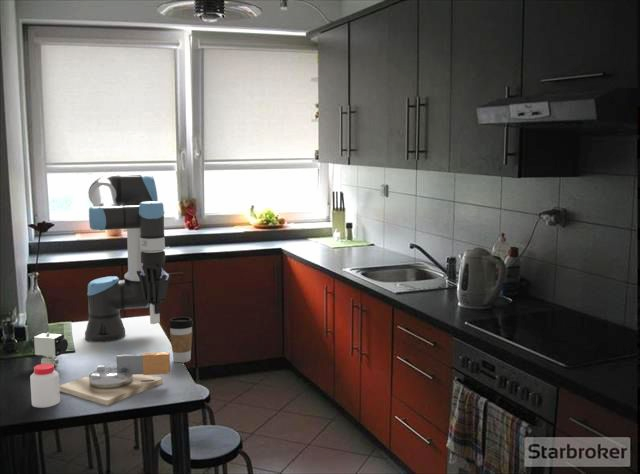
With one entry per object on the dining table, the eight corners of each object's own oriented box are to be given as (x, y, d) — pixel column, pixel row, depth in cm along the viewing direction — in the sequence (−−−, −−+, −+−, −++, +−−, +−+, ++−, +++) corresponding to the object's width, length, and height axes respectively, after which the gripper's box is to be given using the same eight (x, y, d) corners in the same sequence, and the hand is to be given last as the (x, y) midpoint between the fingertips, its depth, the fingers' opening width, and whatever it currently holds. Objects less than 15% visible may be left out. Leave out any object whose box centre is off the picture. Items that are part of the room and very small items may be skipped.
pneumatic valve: (61, 370, 222) (59, 335, 220) (30, 367, 224) (28, 333, 223) (70, 364, 227) (69, 331, 226) (40, 362, 230) (38, 329, 228)
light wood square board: (115, 370, 222) (115, 365, 222) (162, 382, 210) (162, 377, 210) (58, 390, 203) (58, 385, 203) (107, 405, 192) (106, 399, 192)
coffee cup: (164, 362, 230) (163, 320, 228) (178, 355, 238) (177, 314, 236) (185, 365, 227) (184, 322, 225) (198, 357, 235) (197, 316, 233)
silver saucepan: (84, 389, 199) (83, 362, 198) (94, 374, 212) (93, 349, 211) (167, 386, 202) (166, 360, 201) (172, 372, 215) (171, 347, 214)
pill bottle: (59, 406, 191) (57, 369, 190) (30, 409, 189) (27, 372, 188) (61, 396, 199) (59, 361, 197) (33, 399, 197) (31, 363, 195)
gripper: (129, 250, 209) (132, 322, 213) (158, 254, 202) (161, 329, 206) (147, 247, 215) (149, 317, 219) (176, 250, 209) (178, 323, 212)
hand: (155, 322), depth 212 cm, fingers closed
